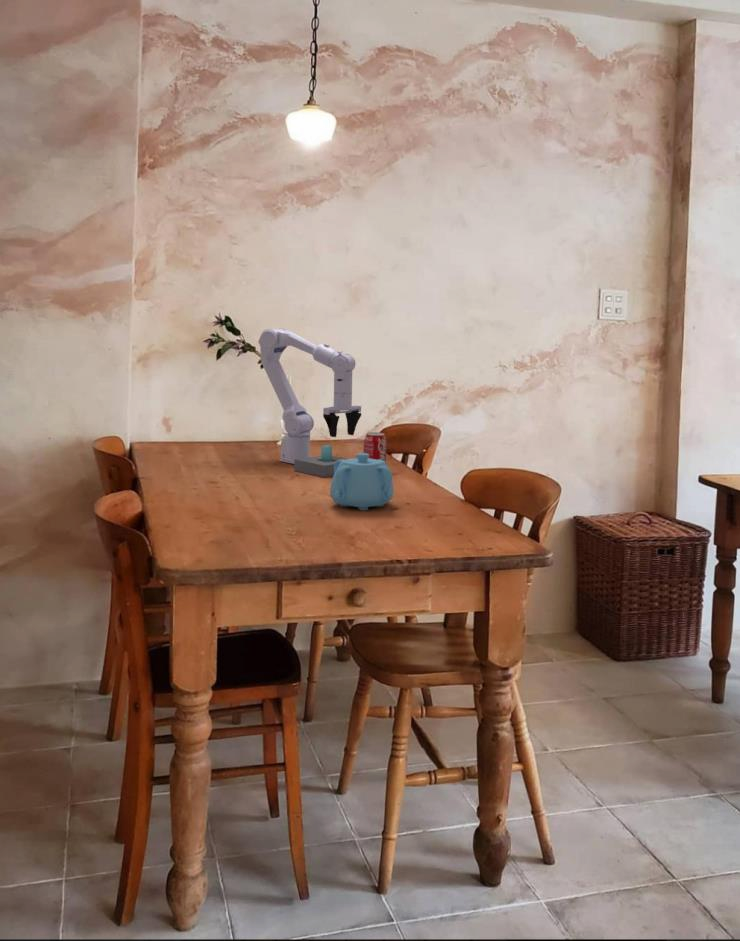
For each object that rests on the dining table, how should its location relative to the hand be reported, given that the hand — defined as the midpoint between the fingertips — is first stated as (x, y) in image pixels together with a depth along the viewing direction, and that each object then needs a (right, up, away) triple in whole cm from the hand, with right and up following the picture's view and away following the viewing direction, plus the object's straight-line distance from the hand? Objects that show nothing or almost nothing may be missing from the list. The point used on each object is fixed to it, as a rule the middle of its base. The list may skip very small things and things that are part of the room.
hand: (341, 435), depth 294 cm
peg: (-5, -11, -8) cm, 15 cm away
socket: (-5, -11, -8) cm, 15 cm away
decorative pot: (+7, -20, -55) cm, 59 cm away
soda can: (+10, -12, -6) cm, 17 cm away
